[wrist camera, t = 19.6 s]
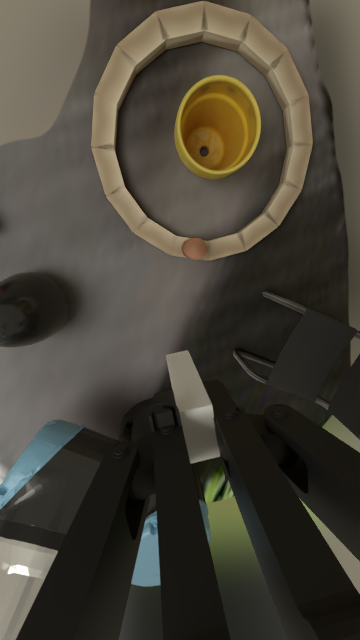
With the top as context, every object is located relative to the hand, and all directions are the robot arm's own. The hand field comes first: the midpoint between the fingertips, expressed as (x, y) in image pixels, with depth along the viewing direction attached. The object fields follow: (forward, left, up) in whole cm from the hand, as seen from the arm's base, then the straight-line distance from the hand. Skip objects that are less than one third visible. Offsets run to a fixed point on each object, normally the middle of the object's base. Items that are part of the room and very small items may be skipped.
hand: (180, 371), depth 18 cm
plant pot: (+20, -11, -30) cm, 38 cm away
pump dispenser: (+3, +19, -30) cm, 36 cm away
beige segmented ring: (+20, -11, -29) cm, 37 cm away
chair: (-13, -21, -30) cm, 39 cm away
